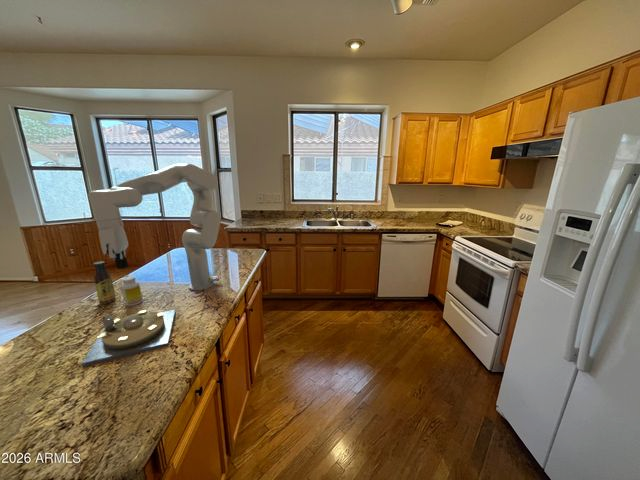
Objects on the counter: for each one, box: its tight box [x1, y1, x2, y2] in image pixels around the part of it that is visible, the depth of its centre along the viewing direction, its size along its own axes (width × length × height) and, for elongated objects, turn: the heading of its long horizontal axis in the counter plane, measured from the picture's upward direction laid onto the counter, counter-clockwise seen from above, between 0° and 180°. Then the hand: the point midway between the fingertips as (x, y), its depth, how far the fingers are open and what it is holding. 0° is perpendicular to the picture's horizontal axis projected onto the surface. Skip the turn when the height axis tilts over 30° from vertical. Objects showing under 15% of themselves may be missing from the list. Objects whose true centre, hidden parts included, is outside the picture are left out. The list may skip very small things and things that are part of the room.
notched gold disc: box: [99, 309, 165, 349], centre depth 94 cm, size 19×19×7 cm
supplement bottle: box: [121, 275, 144, 307], centre depth 117 cm, size 7×7×13 cm
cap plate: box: [80, 309, 176, 368], centre depth 95 cm, size 24×24×2 cm
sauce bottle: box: [93, 260, 116, 305], centre depth 118 cm, size 6×6×20 cm
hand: (122, 267), depth 100 cm, fingers closed
